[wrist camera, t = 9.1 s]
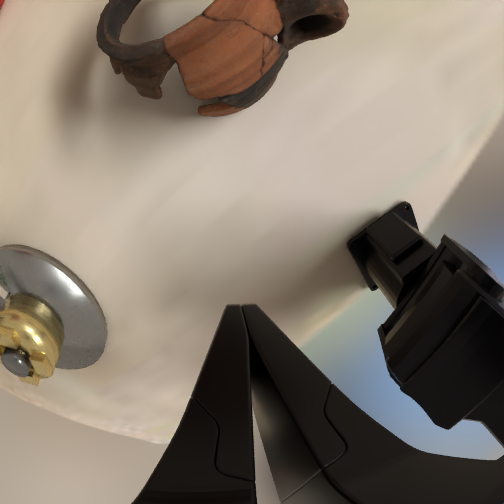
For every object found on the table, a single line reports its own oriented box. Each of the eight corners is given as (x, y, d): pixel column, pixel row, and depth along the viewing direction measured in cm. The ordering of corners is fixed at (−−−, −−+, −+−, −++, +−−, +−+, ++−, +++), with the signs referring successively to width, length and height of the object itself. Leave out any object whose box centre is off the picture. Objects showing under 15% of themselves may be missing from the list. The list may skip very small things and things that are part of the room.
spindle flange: (123, 367, 26) (115, 422, 21) (16, 354, 24) (-1, 397, 18) (84, 242, 19) (49, 302, 13) (-36, 246, 16) (-73, 289, 10)
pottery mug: (173, 146, 17) (81, 119, 9) (156, 38, 16) (87, -13, 8) (363, 96, 14) (392, 17, 6) (314, -11, 13) (301, -94, 5)
